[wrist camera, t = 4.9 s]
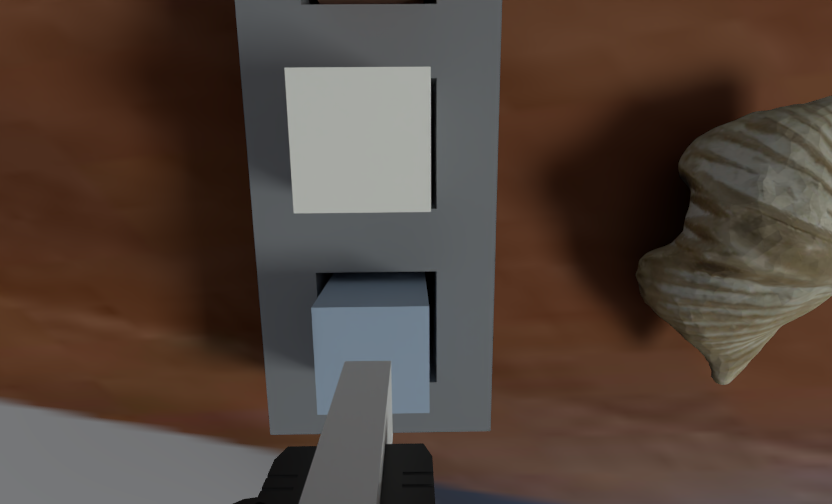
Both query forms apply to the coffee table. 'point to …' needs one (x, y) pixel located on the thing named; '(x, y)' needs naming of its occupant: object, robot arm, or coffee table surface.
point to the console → (389, 231)
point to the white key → (359, 139)
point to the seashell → (748, 235)
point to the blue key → (374, 333)
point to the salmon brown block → (371, 1)
